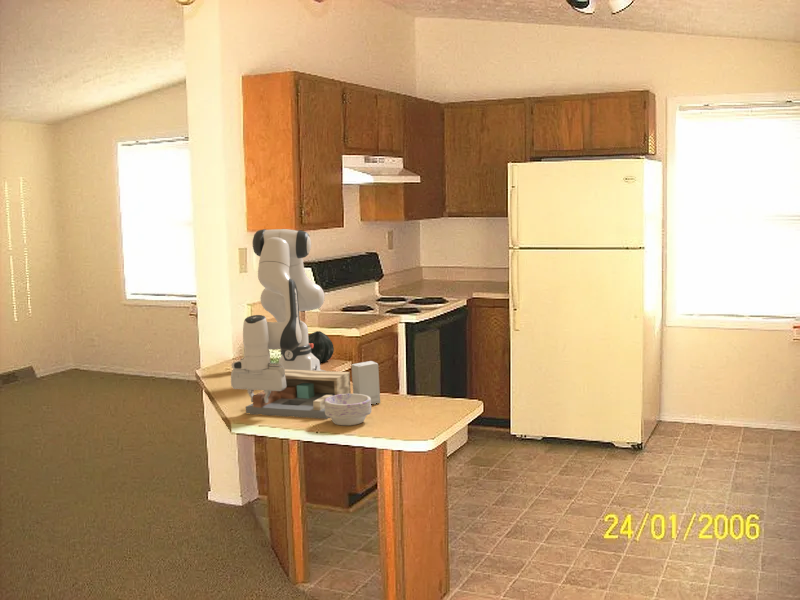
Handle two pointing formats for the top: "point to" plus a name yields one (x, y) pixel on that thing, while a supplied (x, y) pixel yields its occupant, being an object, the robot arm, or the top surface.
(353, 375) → the skincare box
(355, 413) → the paper bowls
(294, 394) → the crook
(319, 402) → the stick
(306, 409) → the board
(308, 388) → the block
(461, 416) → the top surface
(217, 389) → the top surface
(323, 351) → the squash
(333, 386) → the shelf
